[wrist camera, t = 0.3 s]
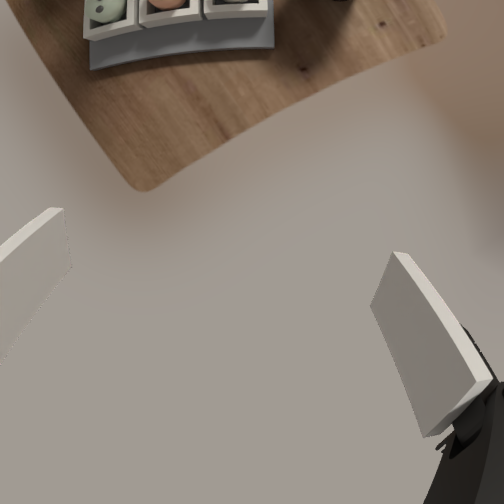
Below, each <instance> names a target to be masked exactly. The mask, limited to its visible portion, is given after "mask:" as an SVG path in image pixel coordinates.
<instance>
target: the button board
mask: <svg viewBox="0 0 504 504" xmlns="http://www.w3.org/2000/svg"><path fill="white" fill-rule="evenodd" d="M86 2H87V0H85V4H86ZM84 9H85V6H84ZM83 38H84V39H88V40H90V70H94V71H96V70H100V69H104V68H108V67H112V66H116V65H121V64H125V63H130V62H135V61H140V60H146V59H151V58H157V57H164V56H171V55H178V54H187V53H196V52H207V51H220V50H240V49H274V8H273V0H247V1H246V2H243V3H239V4H230V3H227V2H224V1H223V0H186V1H185V3H184V4H183V5H182V6H180V7H179V8H177V9H174V10H171V11H163V10H160V9H158V8H156V7H155V6H154V5H153V4H152V3H150V2H149V1H148V0H127V10H126V12H125V14H124V15H123V16H122V17H121V18H120V19H119V20H118V21H116V22H114V23H111V24H103V23H100V22H98V21H95V20H92V19H90V18H88V17H87V16H86V14H85V11H84V25H83Z"/></svg>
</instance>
